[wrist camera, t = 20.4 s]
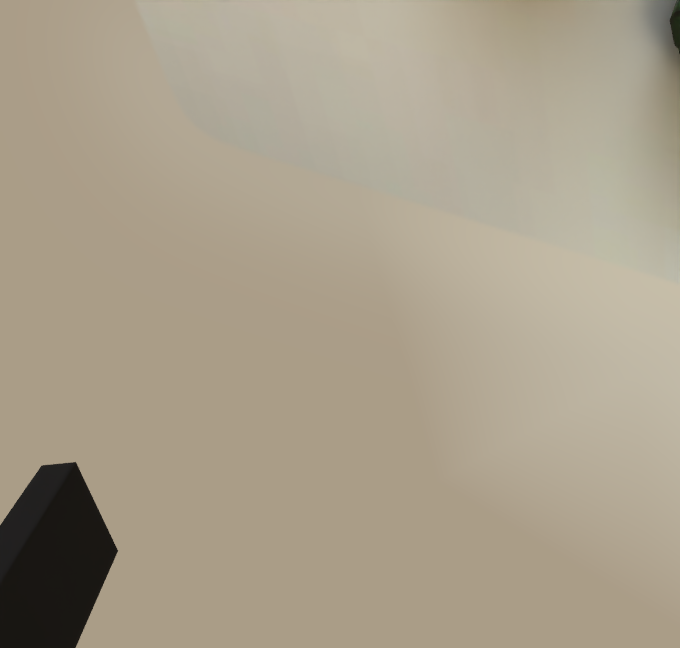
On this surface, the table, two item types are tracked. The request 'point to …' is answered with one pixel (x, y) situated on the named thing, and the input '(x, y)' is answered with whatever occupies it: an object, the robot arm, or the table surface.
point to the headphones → (676, 24)
